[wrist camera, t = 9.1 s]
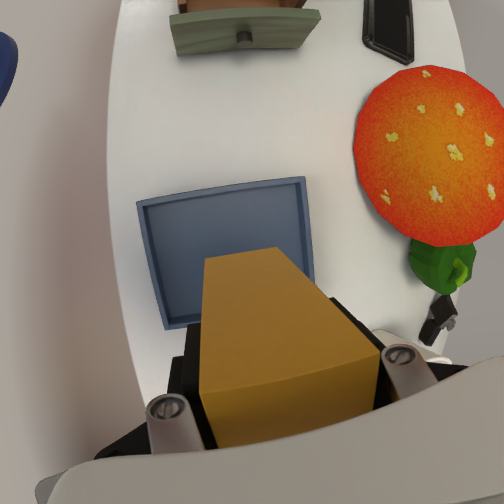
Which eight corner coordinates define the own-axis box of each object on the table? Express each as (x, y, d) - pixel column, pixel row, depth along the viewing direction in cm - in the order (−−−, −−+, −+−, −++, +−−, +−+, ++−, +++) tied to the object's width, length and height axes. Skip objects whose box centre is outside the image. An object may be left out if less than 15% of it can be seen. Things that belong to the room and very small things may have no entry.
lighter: (421, 322, 42) (430, 349, 38) (413, 322, 42) (422, 349, 38) (451, 293, 37) (463, 321, 33) (443, 292, 36) (456, 321, 33)
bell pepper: (435, 210, 35) (486, 221, 25) (445, 260, 37) (492, 280, 28) (392, 235, 35) (443, 254, 25) (406, 287, 37) (451, 315, 27)
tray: (167, 320, 33) (164, 330, 31) (141, 200, 30) (135, 201, 27) (309, 296, 35) (316, 304, 33) (298, 176, 31) (305, 176, 29)
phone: (365, 41, 27) (367, -28, 24) (361, 44, 28) (364, -24, 25) (414, 65, 29) (411, -5, 25) (410, 67, 30) (407, -3, 27)
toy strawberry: (434, 91, 31) (511, 73, 17) (437, 233, 36) (517, 258, 21) (346, 69, 29) (419, 20, 15) (350, 235, 34) (432, 271, 20)
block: (217, 323, 19) (232, 485, 7) (204, 258, 17) (198, 392, 6) (284, 311, 19) (364, 452, 7) (276, 246, 18) (381, 351, 6)
